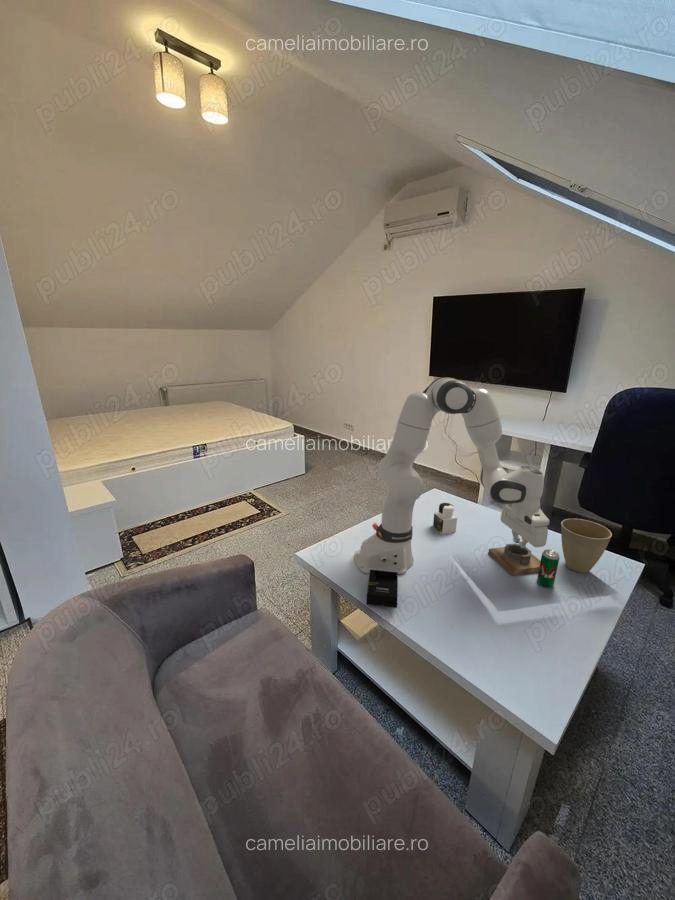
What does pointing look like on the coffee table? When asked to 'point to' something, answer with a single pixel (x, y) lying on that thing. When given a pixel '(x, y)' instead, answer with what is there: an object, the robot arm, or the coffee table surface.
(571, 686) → the coffee table surface
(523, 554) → the socket block
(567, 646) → the coffee table surface
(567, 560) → the plant pot
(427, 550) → the coffee table surface
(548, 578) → the soda can
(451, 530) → the white boxy device
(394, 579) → the battery charger
